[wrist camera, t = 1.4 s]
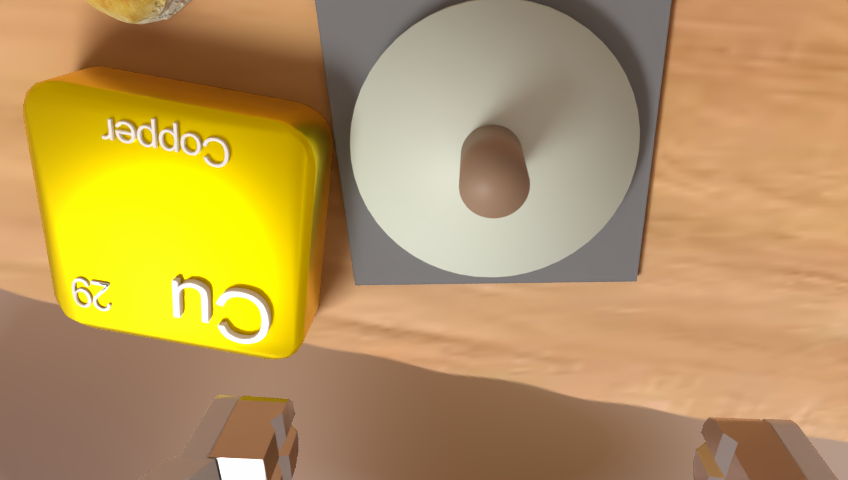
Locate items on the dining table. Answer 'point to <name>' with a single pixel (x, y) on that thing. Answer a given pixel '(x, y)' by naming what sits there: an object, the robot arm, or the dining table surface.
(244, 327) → the element tile
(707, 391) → the dining table surface
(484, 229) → the lid
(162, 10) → the bread roll
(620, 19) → the mat
